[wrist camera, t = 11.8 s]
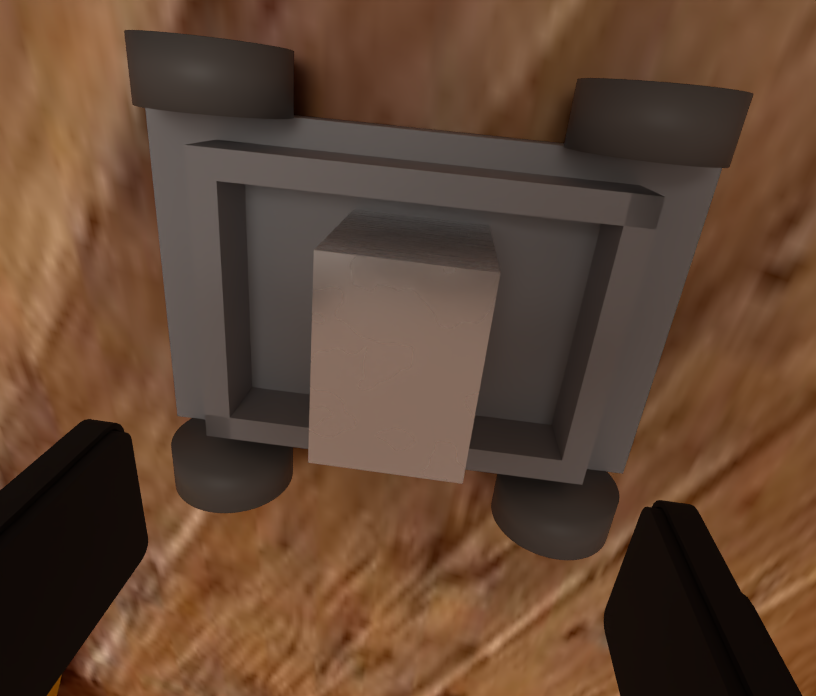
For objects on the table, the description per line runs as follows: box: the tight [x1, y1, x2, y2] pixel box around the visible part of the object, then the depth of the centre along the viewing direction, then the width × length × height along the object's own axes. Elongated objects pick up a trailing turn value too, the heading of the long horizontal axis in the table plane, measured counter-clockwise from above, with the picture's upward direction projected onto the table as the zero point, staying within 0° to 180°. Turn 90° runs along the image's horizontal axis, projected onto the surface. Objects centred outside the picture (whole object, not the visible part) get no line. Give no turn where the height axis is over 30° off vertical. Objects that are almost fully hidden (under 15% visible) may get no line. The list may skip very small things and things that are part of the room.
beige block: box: [308, 209, 500, 484], centre depth 18 cm, size 5×7×6 cm
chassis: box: [124, 30, 753, 560], centre depth 20 cm, size 20×17×5 cm
